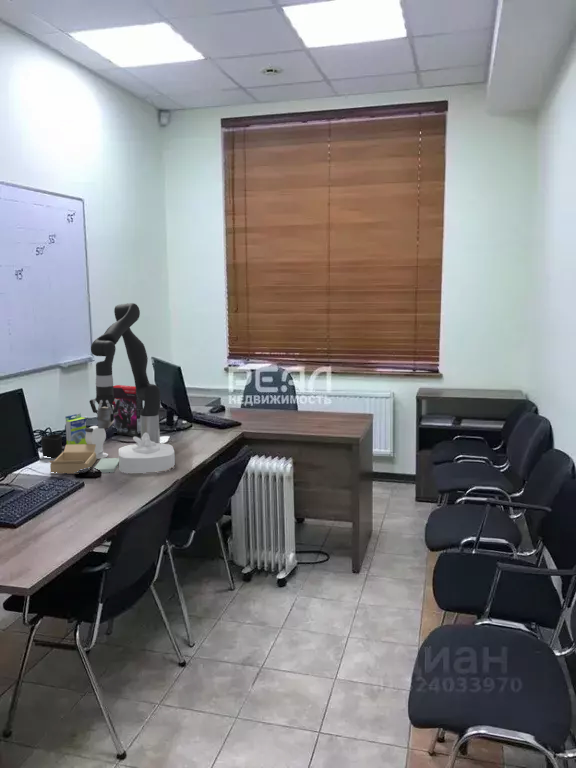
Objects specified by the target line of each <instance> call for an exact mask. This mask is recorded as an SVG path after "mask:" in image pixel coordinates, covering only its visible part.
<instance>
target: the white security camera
mask: <svg viewBox="0 0 576 768" xmlns="http://www.w3.org/2000/svg"><path fill="white" fill-rule="evenodd" d="M106 429H107V428H98V424H97V425H92V426H90V427H86V428H85V432H86V436H85V440H86V443H87V444H96V447H95V451H94V452H95V453H96V460H101V458H108V456H109V453H107V452H104V443H105V441H106V438H107V434H106V433H107V432H106Z"/></svg>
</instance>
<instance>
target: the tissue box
mask: <svg viewBox="0 0 576 768" xmlns="http://www.w3.org/2000/svg"><path fill="white" fill-rule="evenodd" d="M141 439H142V440H141ZM132 440H133V441H134V442H135V443H136V444H135V443H134V444H128V445H125V446H121V447H120V448H118V458H119V465H118V470H119V472H121V473H123V472H124V473H123V474H128V473H143V474H147V473H146V472H155V471H162V470H166V469H169V468H171V467H173V466H174V465H175V463H176V462H175V460H176V459H175V450H174V447H173V445H171V444H169V443H162V442H160V443H155V442H152V441H151V440H150V437H149V434H148V433H144V434H143V436H142V438H141V437H139V436H132ZM175 466H176V465H175Z"/></svg>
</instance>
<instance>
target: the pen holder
mask: <svg viewBox="0 0 576 768" xmlns="http://www.w3.org/2000/svg"><path fill="white" fill-rule="evenodd" d="M40 440H41V441H40V442H41V449H42V457H43V456H47V457H51V458H53V459H56V458H57V457H58V456H59V455H60V454H61V453H62V452H63V435H62V434H57V433H54V434H53V433H52V434H50V435H48V436H44V435H43V436H41V437H40Z"/></svg>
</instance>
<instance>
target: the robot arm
mask: <svg viewBox="0 0 576 768" xmlns="http://www.w3.org/2000/svg"><path fill="white" fill-rule="evenodd" d="M140 311H141V310H140V308H139V305H137V303H133V302H131V303H130V302H129V303H121V304H117V305H115V307H114V310H113V313H114V317H115V320H116V321H115V322H114V323H112V324H111V325H109V327H107V329H106V330H105V332H104V333H103V334H102V335H100V336H99V337H97V338H96V339H95V340H93V341H92V343H91V346H90V352H91V354H92V355H93V356H95V357H105V358H104V360H102V361H98V362H96V364H95V394H96V395H95V398H91V399H90V400H89V404H90V407H91V410H92V413H93V414H97V415H96V417H97V418H96V419H97V420H98V410H99V409H101V408H102V407H108V409H110V413H111V414H110V422H112V421H113V420H114V413H116V412H117V411H118V409H119V405H120V401H121V400H120V399H115V398H114V394H113V386H114V378H113V362H114V358H115V354H116V350H117V349H116V345H117V343H118V342H119V341H120V339H121V337H122V340H123V343H124V347H125V351H126V355H127V358H128V361H129V365H130V369H131V372H132V375H133V379H134V387H136V392H137V395H138V397H139V399H141V400H143V402H144V403H143V404H144V405H143V409H141V410H140V424H141V435H140V439H141V438H142V436H143V434H144V433H148V434H149V437H150V440H151V441H152V442H155V443H161V437H160V435H161V433H160V431H161V430H160V421H159V419H160V418H159V414H160V413H159V412H160V409H161V390H160V388H159V386H157V384H153V383H150V381H149V377H148V373H147V367H148V360H149V359H148V353H147V350H146V347H145V344H144V343H143V342H142V340H141V339H139V337H138V336H137V335H135V333H134V332H133V331H132V329H131V328H130V327H132V326H133V324H135V323H136V322H137V321H138V320H139V319H140V316H141V315H140V314H141V312H140ZM114 401H115V404H116V407H115V410H113V406H112V403H113V402H114ZM96 403H97V404H98V407H96ZM141 440H142V439H141Z"/></svg>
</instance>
